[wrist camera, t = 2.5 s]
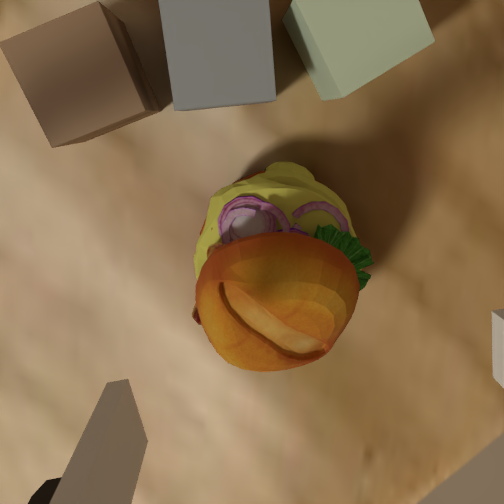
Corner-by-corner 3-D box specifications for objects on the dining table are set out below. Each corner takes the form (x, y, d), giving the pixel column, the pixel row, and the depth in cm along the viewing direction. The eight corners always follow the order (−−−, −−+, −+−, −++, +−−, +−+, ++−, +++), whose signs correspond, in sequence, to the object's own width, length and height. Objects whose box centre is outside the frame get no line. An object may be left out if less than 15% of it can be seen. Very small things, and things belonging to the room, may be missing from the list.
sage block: (281, 20, 24) (294, -3, 20) (359, -30, 24) (392, -66, 19) (321, 100, 26) (342, 97, 21) (396, 55, 25) (435, 41, 20)
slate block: (171, 17, 24) (157, -6, 19) (260, 8, 24) (267, -17, 19) (185, 111, 26) (174, 110, 21) (267, 102, 26) (276, 100, 21)
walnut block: (43, 56, 24) (-2, 42, 20) (124, 23, 24) (97, 0, 19) (84, 141, 26) (52, 147, 21) (161, 111, 26) (145, 110, 21)
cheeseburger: (370, 169, 27) (428, 253, 18) (323, 301, 32) (352, 412, 24) (211, 140, 26) (195, 215, 17) (191, 282, 31) (171, 391, 23)
